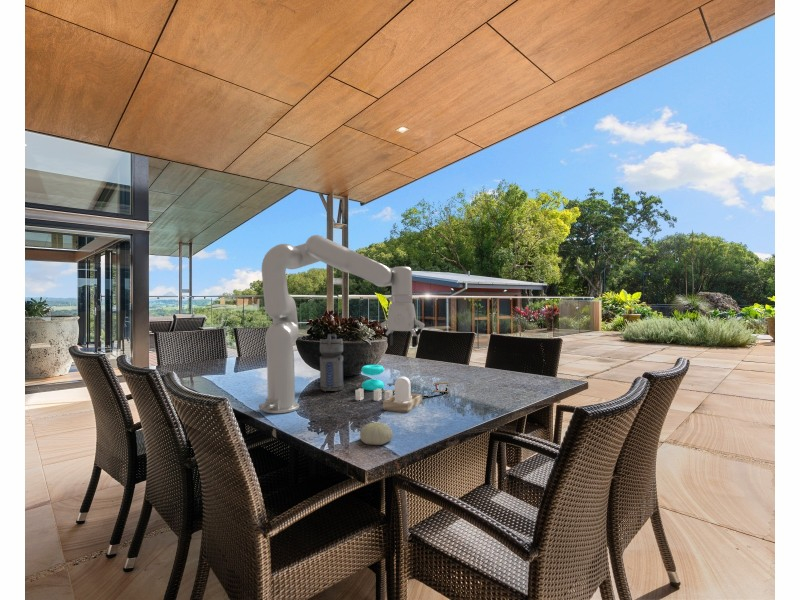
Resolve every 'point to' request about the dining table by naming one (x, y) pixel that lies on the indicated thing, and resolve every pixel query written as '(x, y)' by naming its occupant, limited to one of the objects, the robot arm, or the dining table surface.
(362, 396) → the cable clips
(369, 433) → the sea urchin shell
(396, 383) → the cable organizer
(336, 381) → the beverage bottle
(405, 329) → the robot arm
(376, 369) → the donuts
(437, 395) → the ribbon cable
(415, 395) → the tan shallow tray
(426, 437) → the dining table surface
